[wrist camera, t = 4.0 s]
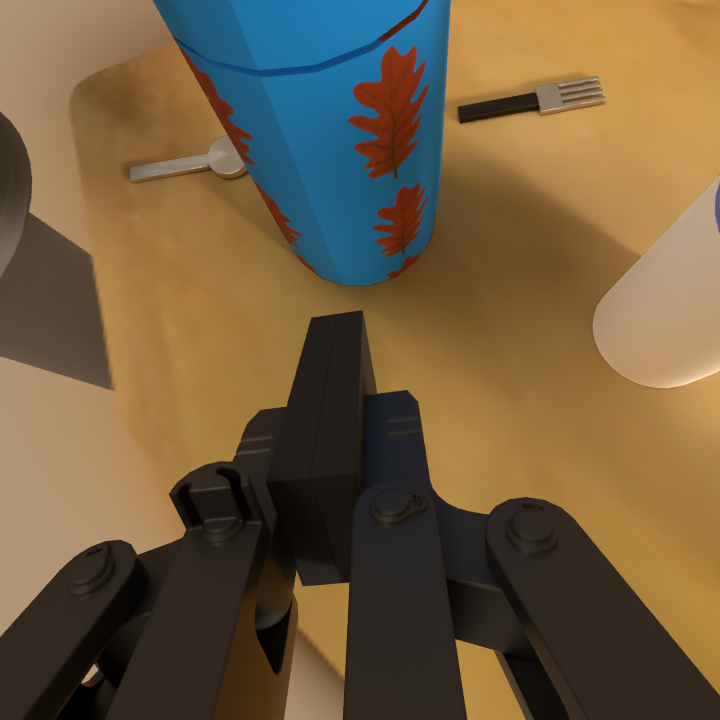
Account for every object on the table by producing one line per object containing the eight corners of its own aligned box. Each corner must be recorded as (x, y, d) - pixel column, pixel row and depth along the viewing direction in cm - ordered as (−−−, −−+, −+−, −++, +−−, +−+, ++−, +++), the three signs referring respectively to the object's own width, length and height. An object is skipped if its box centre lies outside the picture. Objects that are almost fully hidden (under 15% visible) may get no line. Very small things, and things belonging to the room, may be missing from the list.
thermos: (346, 319, 31) (82, -255, 7) (258, 215, 34) (-139, -433, 10) (470, 220, 31) (622, -614, 8) (373, 128, 35) (260, -677, 11)
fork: (460, 129, 34) (461, 124, 33) (456, 105, 34) (456, 100, 34) (603, 104, 33) (606, 98, 32) (595, 79, 33) (598, 73, 33)
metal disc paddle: (132, 196, 36) (127, 192, 35) (133, 158, 37) (129, 152, 36) (256, 174, 35) (253, 169, 34) (254, 135, 36) (251, 129, 35)
